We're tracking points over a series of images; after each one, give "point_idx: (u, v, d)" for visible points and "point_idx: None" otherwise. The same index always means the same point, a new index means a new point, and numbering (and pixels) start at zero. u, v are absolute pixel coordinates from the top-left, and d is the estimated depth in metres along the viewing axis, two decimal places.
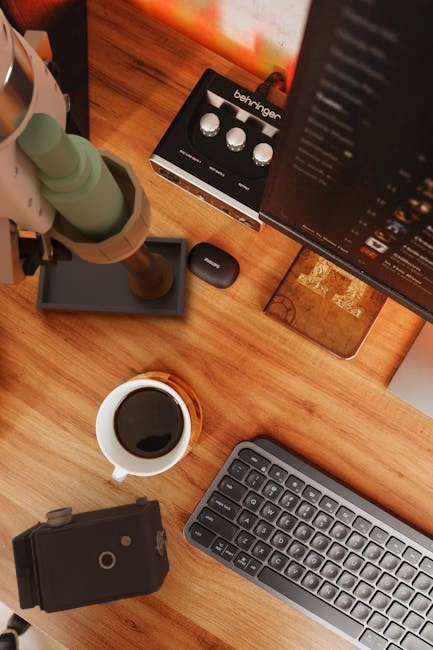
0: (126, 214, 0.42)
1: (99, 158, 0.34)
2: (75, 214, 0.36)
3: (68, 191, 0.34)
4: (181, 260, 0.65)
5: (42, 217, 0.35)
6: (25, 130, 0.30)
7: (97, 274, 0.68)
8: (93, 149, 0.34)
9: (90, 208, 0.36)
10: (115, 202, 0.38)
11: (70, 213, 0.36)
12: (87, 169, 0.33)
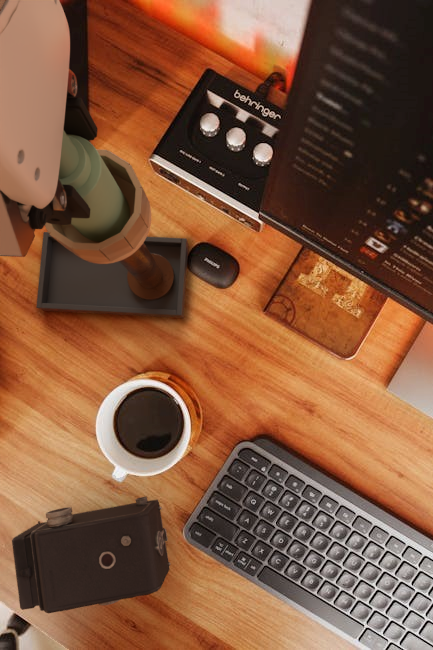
0: (126, 214, 0.42)
1: (99, 158, 0.34)
2: None
3: None
4: (181, 260, 0.65)
5: (39, 182, 0.24)
6: None
7: (97, 274, 0.68)
8: (93, 149, 0.34)
9: (90, 208, 0.36)
10: (115, 202, 0.38)
11: None
12: (87, 169, 0.33)
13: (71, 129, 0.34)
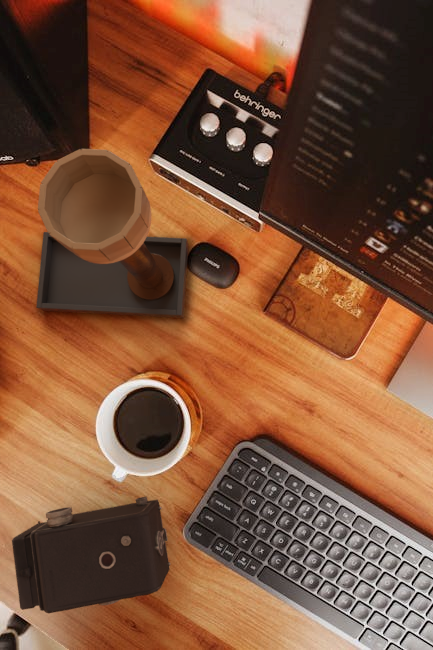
0: None
1: None
2: None
3: None
4: (181, 260, 0.65)
5: None
6: None
7: (97, 274, 0.68)
8: None
9: None
10: None
11: None
12: None
13: None
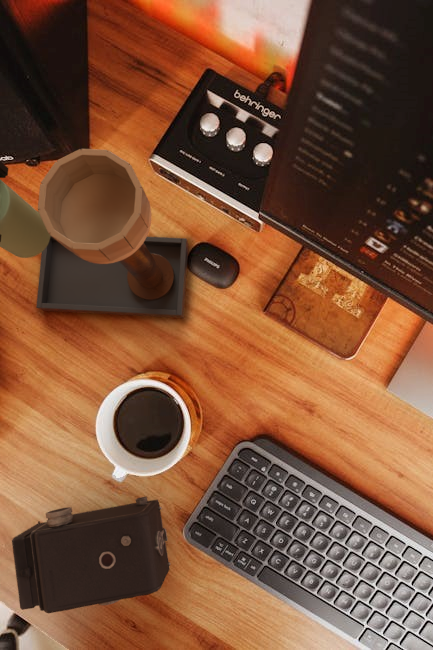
0: (45, 235, 0.49)
1: (8, 193, 0.42)
2: None
3: None
4: (181, 260, 0.65)
5: None
6: None
7: (97, 274, 0.68)
8: (3, 185, 0.42)
9: (4, 233, 0.43)
10: (30, 226, 0.46)
11: None
12: None
13: None
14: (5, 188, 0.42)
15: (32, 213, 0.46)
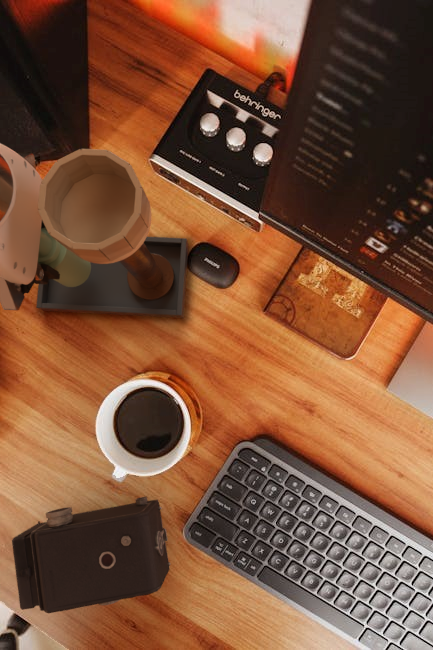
0: (87, 269, 0.63)
1: None
2: None
3: (46, 263, 0.55)
4: (181, 260, 0.65)
5: (25, 273, 0.46)
6: None
7: (97, 274, 0.68)
8: None
9: (61, 271, 0.57)
10: (78, 264, 0.60)
11: None
12: (57, 251, 0.55)
13: None
14: None
15: None
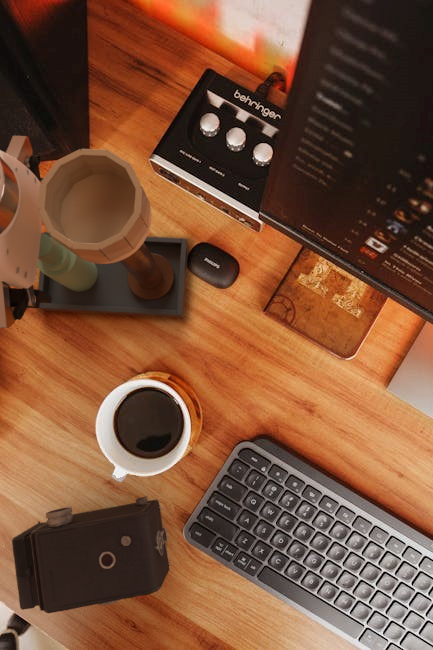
0: (94, 275, 0.66)
1: None
2: (61, 280, 0.61)
3: (57, 270, 0.59)
4: (181, 260, 0.65)
5: (27, 278, 0.48)
6: None
7: None
8: None
9: (70, 277, 0.60)
10: (86, 271, 0.63)
11: (58, 280, 0.61)
12: (67, 258, 0.58)
13: None
14: None
15: (87, 261, 0.63)
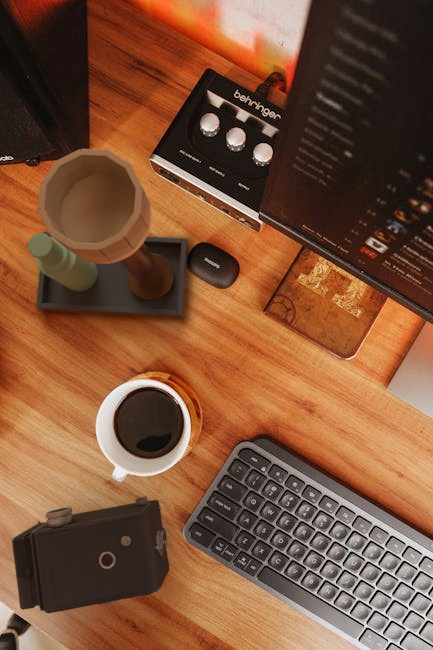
0: (94, 275, 0.66)
1: None
2: (61, 280, 0.61)
3: (57, 270, 0.59)
4: (181, 260, 0.65)
5: None
6: (32, 243, 0.54)
7: None
8: None
9: (70, 277, 0.60)
10: (86, 271, 0.63)
11: (58, 280, 0.61)
12: (67, 258, 0.58)
13: None
14: None
15: (87, 261, 0.63)
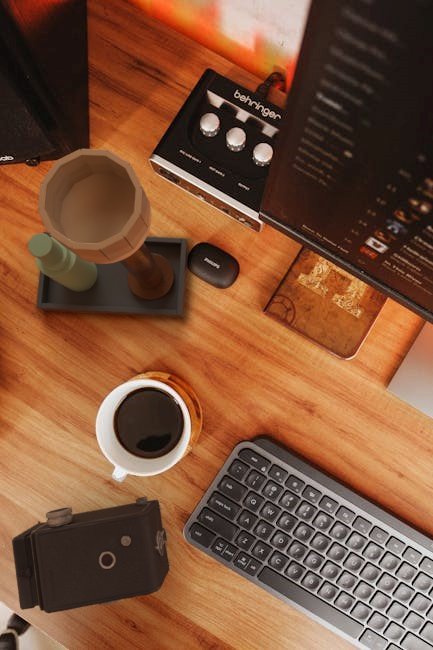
0: (94, 275, 0.66)
1: None
2: (61, 280, 0.61)
3: (57, 270, 0.59)
4: (181, 260, 0.65)
5: None
6: (32, 243, 0.54)
7: None
8: None
9: (70, 277, 0.60)
10: (86, 271, 0.63)
11: (58, 280, 0.61)
12: (67, 258, 0.58)
13: None
14: None
15: (87, 261, 0.63)
